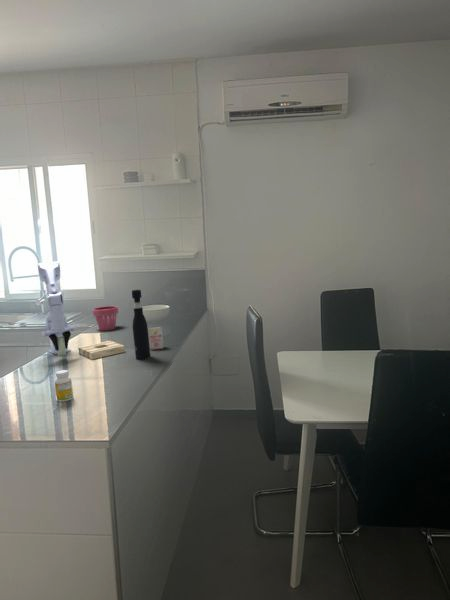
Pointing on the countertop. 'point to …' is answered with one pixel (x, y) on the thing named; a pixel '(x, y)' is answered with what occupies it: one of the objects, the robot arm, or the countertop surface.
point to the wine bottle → (140, 329)
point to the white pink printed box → (155, 338)
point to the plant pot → (106, 317)
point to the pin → (61, 346)
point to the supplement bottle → (63, 386)
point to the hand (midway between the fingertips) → (61, 349)
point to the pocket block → (101, 349)
